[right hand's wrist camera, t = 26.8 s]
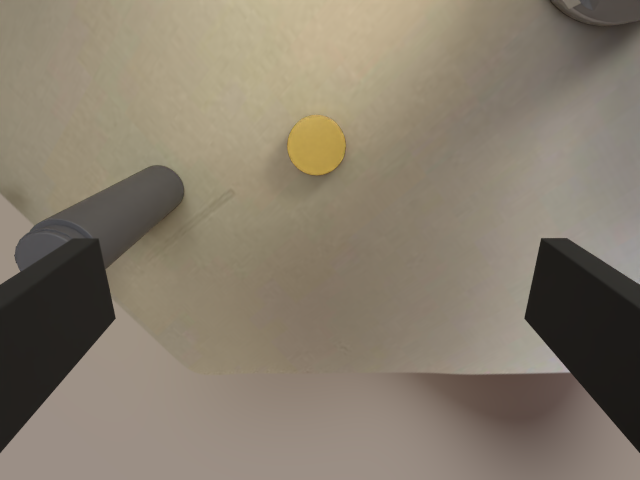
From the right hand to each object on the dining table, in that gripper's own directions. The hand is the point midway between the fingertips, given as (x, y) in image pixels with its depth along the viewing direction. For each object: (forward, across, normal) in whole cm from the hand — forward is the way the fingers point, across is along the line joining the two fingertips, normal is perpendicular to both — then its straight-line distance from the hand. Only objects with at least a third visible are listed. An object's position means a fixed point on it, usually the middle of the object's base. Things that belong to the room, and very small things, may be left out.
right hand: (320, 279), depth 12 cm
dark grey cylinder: (+28, +16, +4) cm, 33 cm away
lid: (+27, 0, 0) cm, 27 cm away
